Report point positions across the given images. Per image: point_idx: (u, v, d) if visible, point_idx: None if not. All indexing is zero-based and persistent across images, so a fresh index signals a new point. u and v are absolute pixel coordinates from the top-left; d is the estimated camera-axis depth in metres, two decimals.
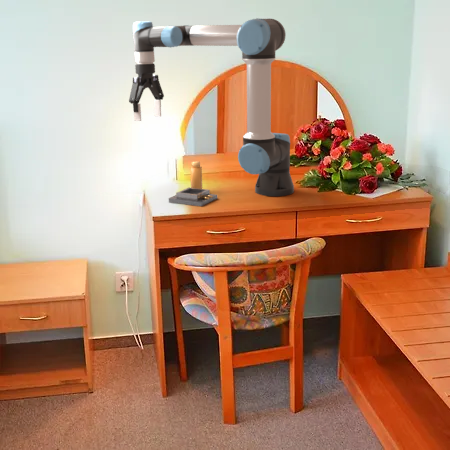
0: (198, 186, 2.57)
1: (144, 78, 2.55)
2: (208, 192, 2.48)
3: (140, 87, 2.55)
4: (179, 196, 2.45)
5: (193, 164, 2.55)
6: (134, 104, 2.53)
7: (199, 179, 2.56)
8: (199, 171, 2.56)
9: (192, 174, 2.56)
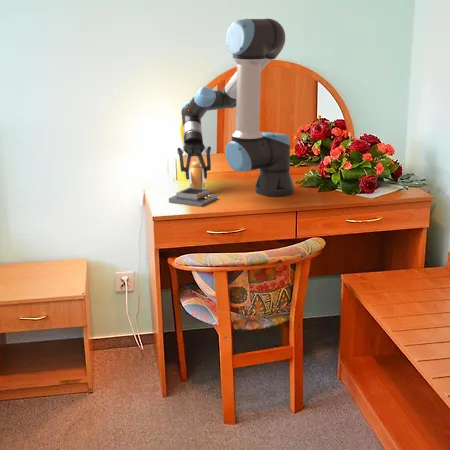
0: (198, 186, 2.57)
1: (187, 145, 2.62)
2: (208, 192, 2.48)
3: None
4: (179, 196, 2.45)
5: (193, 164, 2.55)
6: (185, 171, 2.57)
7: (199, 179, 2.56)
8: (199, 171, 2.56)
9: (192, 174, 2.56)
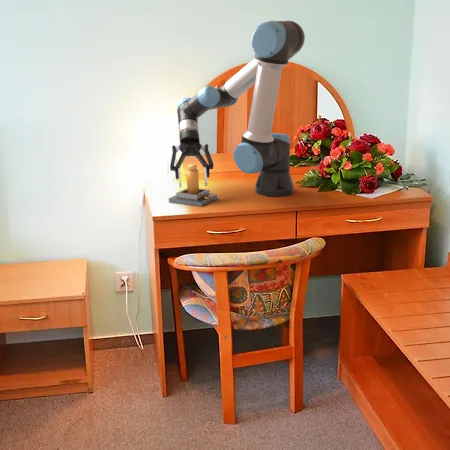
0: (195, 190, 2.45)
1: (183, 144, 2.50)
2: (208, 192, 2.48)
3: None
4: (179, 196, 2.45)
5: (189, 167, 2.43)
6: (175, 170, 2.45)
7: (196, 183, 2.45)
8: (196, 174, 2.44)
9: (188, 177, 2.44)
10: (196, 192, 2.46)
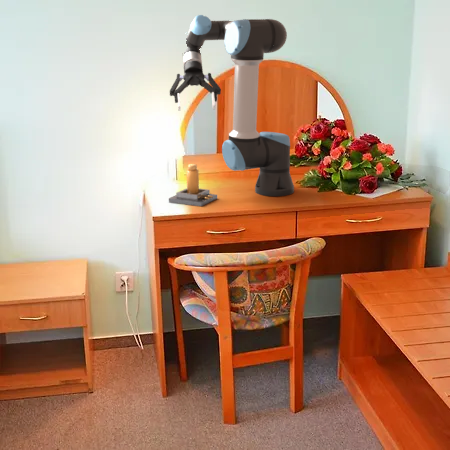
0: (195, 190, 2.45)
1: (188, 75, 2.65)
2: (208, 192, 2.48)
3: None
4: (179, 196, 2.45)
5: (189, 167, 2.43)
6: (174, 95, 2.61)
7: (196, 182, 2.45)
8: (196, 174, 2.44)
9: (188, 177, 2.44)
10: (196, 192, 2.46)
